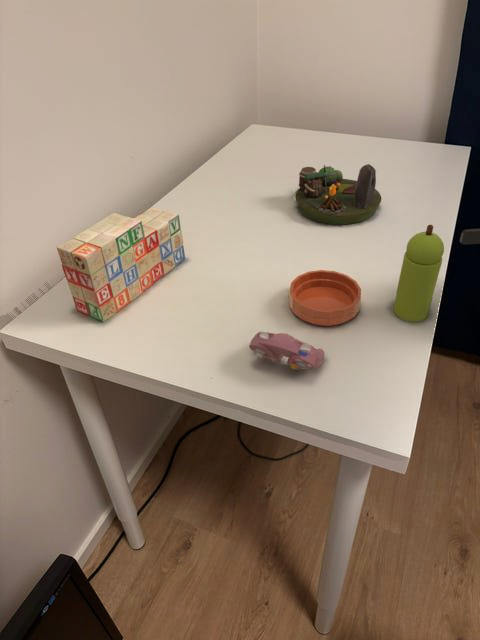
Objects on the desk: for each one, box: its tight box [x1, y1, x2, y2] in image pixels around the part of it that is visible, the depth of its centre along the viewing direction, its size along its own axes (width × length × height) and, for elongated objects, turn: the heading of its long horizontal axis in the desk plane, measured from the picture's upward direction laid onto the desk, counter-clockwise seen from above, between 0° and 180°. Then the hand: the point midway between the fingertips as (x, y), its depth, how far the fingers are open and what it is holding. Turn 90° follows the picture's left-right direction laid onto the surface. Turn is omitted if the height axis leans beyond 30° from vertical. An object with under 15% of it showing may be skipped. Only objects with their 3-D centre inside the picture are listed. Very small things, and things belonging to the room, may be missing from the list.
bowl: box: [288, 269, 362, 327], centre depth 77 cm, size 11×11×3 cm
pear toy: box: [392, 224, 445, 323], centre depth 71 cm, size 5×5×15 cm
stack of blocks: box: [56, 206, 186, 323], centre depth 81 cm, size 21×6×12 cm, turn 147°
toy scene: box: [294, 163, 382, 225], centre depth 101 cm, size 18×18×11 cm
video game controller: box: [248, 330, 325, 370], centre depth 66 cm, size 10×5×7 cm, turn 64°
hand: (473, 252), depth 69 cm, fingers open, 8 cm apart
